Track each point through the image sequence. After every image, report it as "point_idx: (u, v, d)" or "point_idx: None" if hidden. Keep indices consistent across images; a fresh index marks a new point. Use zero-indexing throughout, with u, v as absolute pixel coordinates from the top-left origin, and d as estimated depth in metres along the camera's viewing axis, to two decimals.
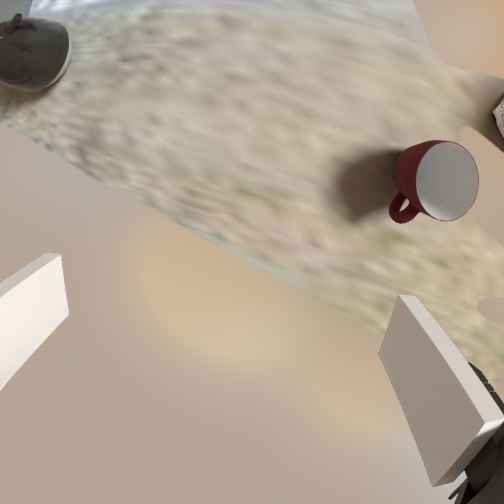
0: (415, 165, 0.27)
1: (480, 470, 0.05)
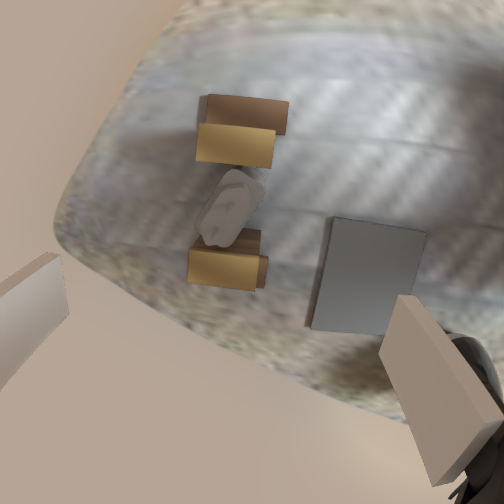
0: None
1: (480, 470, 0.05)
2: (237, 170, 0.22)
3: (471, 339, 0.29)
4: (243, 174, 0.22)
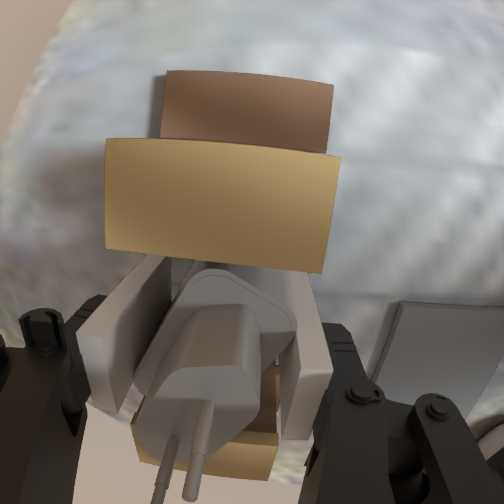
0: None
1: (319, 435, 0.07)
2: (223, 271, 0.08)
3: None
4: (240, 282, 0.08)
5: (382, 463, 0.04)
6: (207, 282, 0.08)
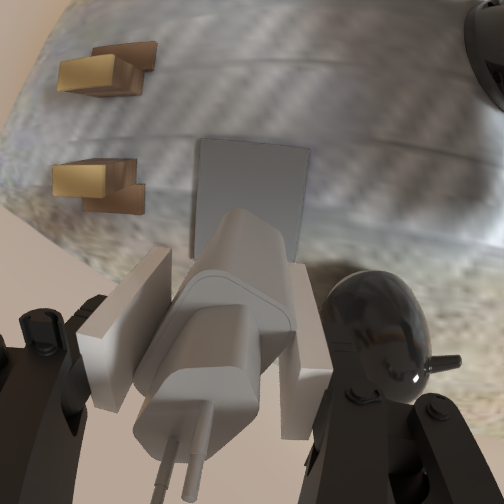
0: None
1: (319, 435, 0.07)
2: (222, 272, 0.08)
3: (387, 273, 0.28)
4: (239, 283, 0.08)
5: (382, 463, 0.04)
6: (207, 283, 0.08)
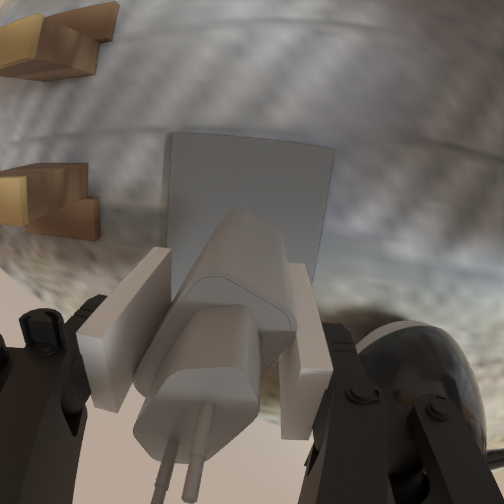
0: None
1: (319, 435, 0.07)
2: (222, 273, 0.08)
3: (434, 330, 0.19)
4: (240, 284, 0.08)
5: (382, 463, 0.04)
6: (207, 283, 0.08)
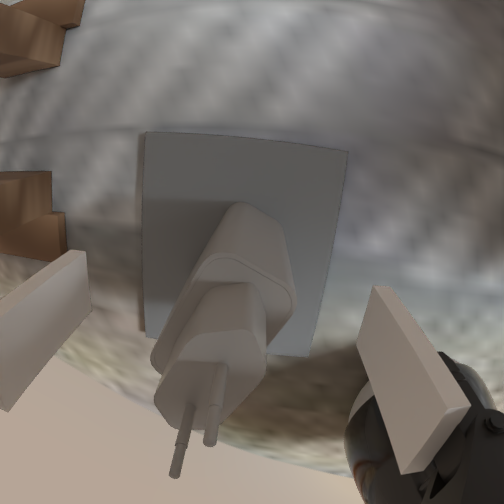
0: None
1: (448, 461, 0.05)
2: (231, 254, 0.09)
3: (459, 368, 0.15)
4: (246, 264, 0.09)
5: None
6: (217, 264, 0.09)
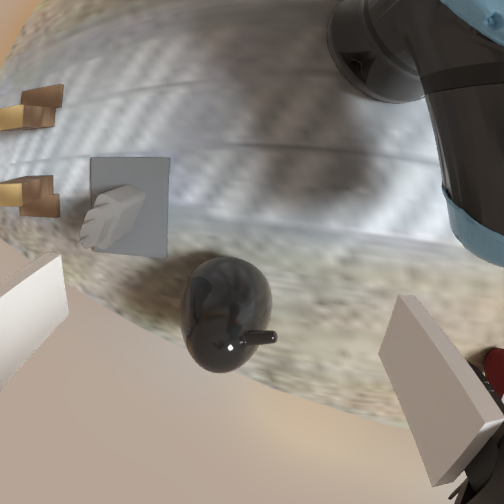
0: None
1: (480, 470, 0.05)
2: (103, 194, 0.29)
3: (234, 259, 0.35)
4: (107, 197, 0.29)
5: None
6: (100, 197, 0.29)
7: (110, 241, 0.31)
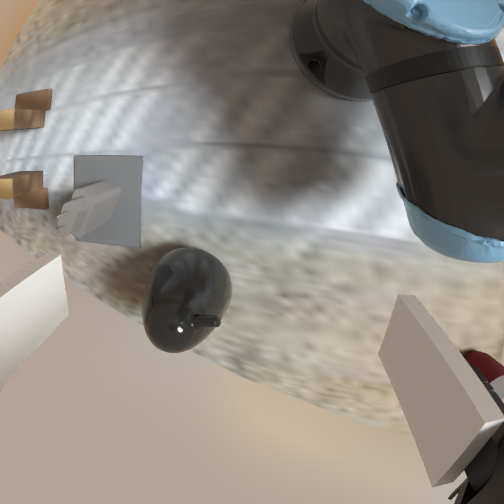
0: None
1: (480, 470, 0.05)
2: (79, 189, 0.31)
3: (195, 250, 0.37)
4: (82, 191, 0.31)
5: None
6: (76, 192, 0.31)
7: (85, 231, 0.33)
